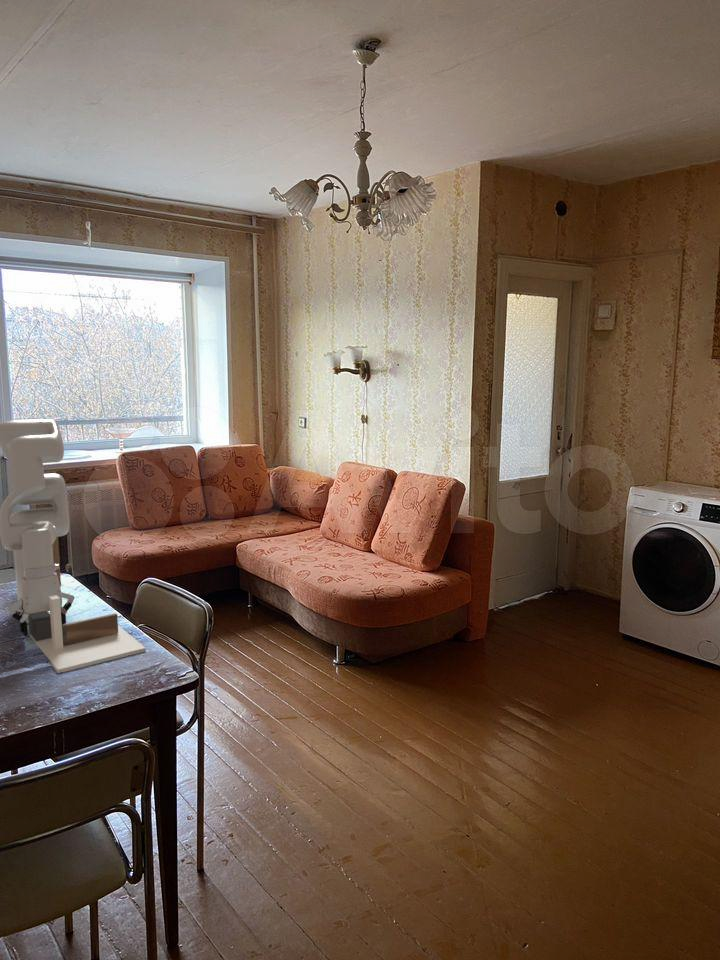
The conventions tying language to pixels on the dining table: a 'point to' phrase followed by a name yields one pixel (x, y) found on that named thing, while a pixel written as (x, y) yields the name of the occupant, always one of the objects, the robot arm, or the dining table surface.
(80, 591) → the dining table surface
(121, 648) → the cream base with post
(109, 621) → the wooden slat
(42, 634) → the block
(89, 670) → the dining table surface
